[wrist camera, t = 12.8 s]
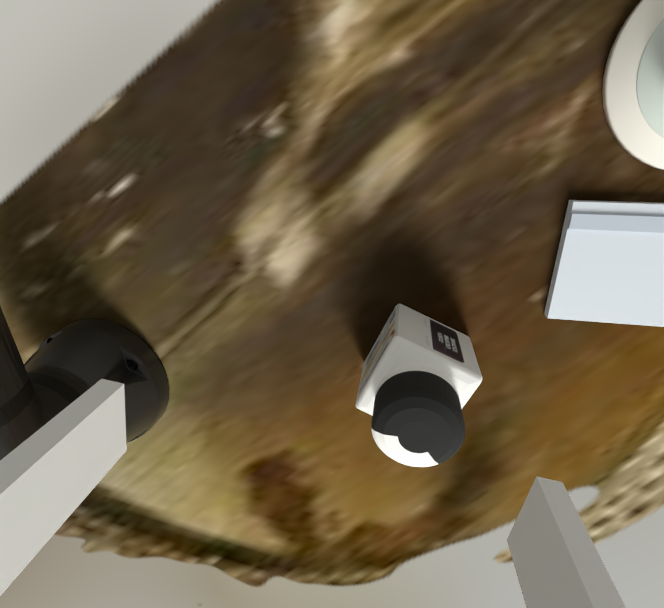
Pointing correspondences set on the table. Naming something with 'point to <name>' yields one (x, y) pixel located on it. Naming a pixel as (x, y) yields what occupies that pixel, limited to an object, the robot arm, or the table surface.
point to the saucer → (638, 84)
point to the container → (418, 388)
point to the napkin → (610, 264)
